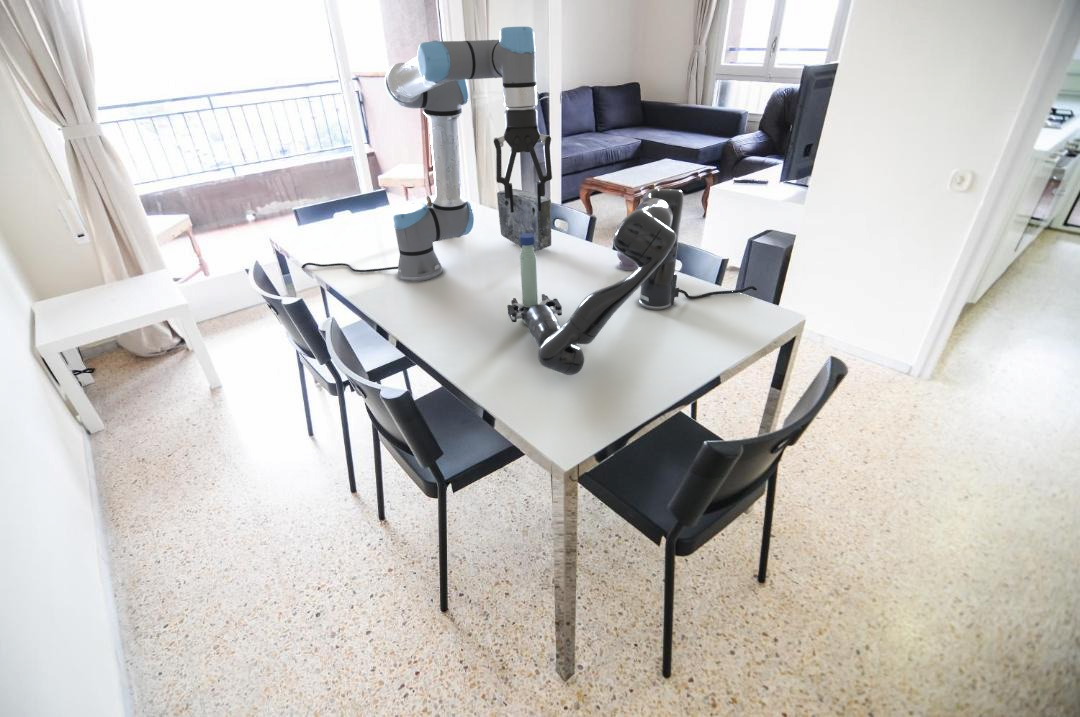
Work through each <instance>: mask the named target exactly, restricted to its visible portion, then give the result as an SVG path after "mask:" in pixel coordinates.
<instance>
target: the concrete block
mask: <svg viewBox="0 0 1080 717" xmlns="http://www.w3.org/2000/svg"><path fill="white" fill-rule="evenodd" d="M512 191H513V207H514V212H513V213H511V210H510V198H506V197H505V189H503V190H500V191H498V192H497V193H496V197H497V208H498V219H499V221H498V222H499V228H500V234H501V236H503V238H505V239H507V240H508V241H511V243H514V244H515V245H517V246H519V247H521V248H523V247H522V245H521V244H520V238H519V237H520V235H521V234H525V233H530V234H534V237H535V243H534V244H533V245H532V247H533V250H534V251H542V250H544V249H546V248H548V247H551V245H552V200H551V198H550V197H546V196H541V211H538V209H537V193H535V192H531V191H527V190H522V189H517V188H512Z"/></svg>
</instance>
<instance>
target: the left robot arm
mask: <svg viewBox="0 0 1080 717" xmlns="http://www.w3.org/2000/svg"><path fill="white" fill-rule="evenodd" d="M535 40H536V39H535V31H534V29H533V27H531V26H506V27H502V28H500V30H499V39H478V40H477V39H476V40H444V41H443V40H442V41H440V40H431V41H423V42H421V43H420V44H419V45H418V47H417V52H416V56H415V57H414V58H412V59H410V60H408V61H407V62H398V63H395V64H393V65H392V66H391V67H390V68H388V69H387V71H386V73H385V76H384V87H385V91H386V93H387V95H388V97H389V98H390V99H391V100H392V101H393V102H394V103H396V104H397V105H399V106H400V107H404V108H408V109H422V113H423V114H424V115H425V116H426V118H428V123H429V134H430V145H431V146H430V147H431V156H432V166H433V180H434V187H435V188H434V189H435V195H434V196H433V197H432V198H431V203H432V206H431V207H427V203H424V202H423V203H422V202H417V203H410V204H406V205H403V206H401V207H399V208H397V209H396V210H395V211H394V213H393V215H392V219H393V228H394V230H395V231H394V232H395V236H396V241H397V247H398V251H399V259H398V265H397V266H389V267H382V268H381V267H380V268H370V269H356V268H353V266H352V265H350V264H348V263H343V262H340V263H339V262H337V263H325V264H324V263H323V264H320V263H314V262H306V263H303V265H302V266H301V269H304V268H305V267H306V266H313V267H314V266H315V267H319V268H320V267H321V268H323V267H337V266H342V267H343V266H344V267H345V266H346V267H348V268H349V269H350V270H351V271H352V272H356V273H372V272H382V271H391V270H397V276H398V278H399V279H400V280H402V281H406V282H413V283H414V282H425V281H429V280H432V279H435V278H438V277H439V276H440V275H441V274H442V273H443V268H442V264H441V263H440V260H439V259H438V256H437V254H436V252H435V250H434V243H435V242H440V241H446V240H450V239H455V238H460V237H463V236H466V235H469V234H470V232H471V231H472V230H473V227H474V220H475V218H474V217H475V216H474V212H473V207H472V205H471V203H470V202H469V201H468V200H467V198H466V197H465V196H464V195H463V194H462V180H461V164H460V162H461V160H460V147H459V146H460V144H459V143H460V142H459V128H458V127H459V126H458V119H459V118H460V116H461V115H462V113H463V110H462V106H465V105H466V104H467V103H468V101H469V87H468V82H467V80H484V79H502V95H503V96H502V97H503V106H504V107H505V108H506V109H505V110H504V124H505V125H504V126H505V131H504V133H503V135H502V136H501V135H500V136H499V137H494V138H493V144H494V147H495V152H496V153H495V155H496V156H495V158H496V159H495V165H496V166H495V167H496V170H495V171H496V172H495V173H496V176H495V178H496V179H495V180H496V183H497V184H502V185H503V186H504V188H503V190H505V197H506V198H510V210H511V213H513V212H514V207H513V191H512V189H513V183H512V182H510V181H511V178H512V172H513V169H514V164H515V161H516V157H517V154H519V153H529V155H530V157H531V160H532V163H533V166H534V170H535V171H536V172H535V173H536V174H537V177H538V181H536V182H535V184H536V185H535V186H536V194H537V209H538V211H541V196H544V197H546V183H547V182H548V181H551V180H553V172H552V161H551V151H550V150H551V149H550V147H551V142H552V137H551V135H549V134H543V133H541V132H540V130H539V124H538V121H539V119H538V109H537V108H536V107H537V105H538V93H537V92H538V89H537V56H536V55H537V54H536V52H537V46H536V41H535ZM538 141H540V143H541V145H542V146H543V156H544V165H545V174H543V171H542V168H541V164H540V162H539V158H538V156H537V153H536V150H535V147H536V145H537V143H539V142H538ZM504 142H506V143H507V144H508V146H509V147H510V148H511V149H510V151H509V158H508V161H507V165H506V170H505V174H504V177H503V176H502V148H503V147H504Z"/></svg>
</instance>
